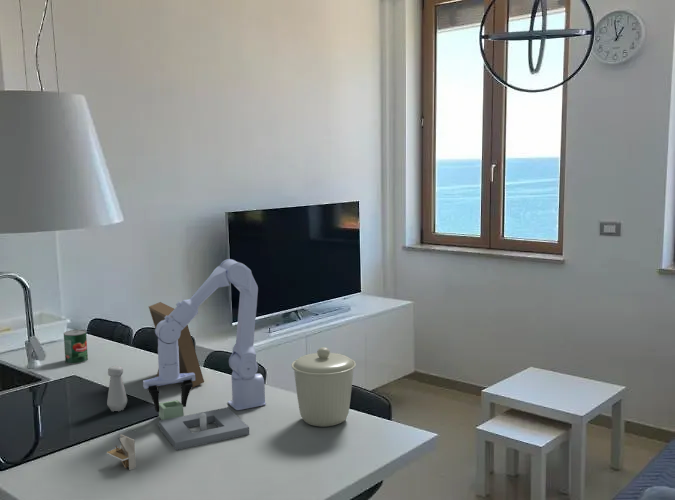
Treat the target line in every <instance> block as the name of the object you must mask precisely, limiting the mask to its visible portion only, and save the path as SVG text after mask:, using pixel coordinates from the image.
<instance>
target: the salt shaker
mask: <svg viewBox="0 0 675 500" xmlns="http://www.w3.org/2000/svg"><path fill="white" fill-rule="evenodd" d="M123 373H124V368H123V366H120V365H113V366H110V367H109V368H108V370H107V375H108V376H109V377H110V378H109V384H108V385H109V386H108V392H107V401H106V404H107V407H108V408H109V409H110V411H111V412H114V411H118V412H121V410H122V411H124V410H125V409H124V408H126V406H127V403H128V397H127V393H126V388H125V384H124V381H123V376H122V375H123Z"/></svg>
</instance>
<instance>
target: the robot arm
mask: <svg viewBox="0 0 675 500" xmlns="http://www.w3.org/2000/svg"><path fill="white" fill-rule="evenodd" d="M231 284H232V285H233V286H234V287H235V288H236V289H237V290H238V291H239V302H238V312H237V313H238V314H237V325H236V326H237V327H236V336H235V337H236V339H235V344H234V345H233V346H232V351H231V352H232V353H231V355H230V356H229V357H228V365H229V368H230V369H231V370H232V373H231V397H232V400H228V401H227V404H229V406H231V408H233V409H234V410H235V411H243V410H247V409H248V410H249V409H251V408H252V409H253V408H257V407H261V406H262V407H263V406H266V405H267V403H266V391H265V390H266V388H265V387H266V386H265V380H264V377H263V375H262V374H261V373H258V371H259V370H258V369H259V364H258V362H257V353H256V349H255V347H254V342H255V329H256V328H255V327H256V318H257V317H256V316H257V307H258V293H259V287H258V284H257V282H256V280H255V278H254V275H253V273H252V270H251V269H250V268H249V267H248V266H247V265H245V264H244V263H242V262H240V261H236V260H235V259H232V258H228V259H227V258H226V259H225V260H223V261H222V262H221V263H220V264H219V265H218V266H216V268H214V269H213V271H212V273H210V275H209V276H208V277H207V278H206V280H204V282H203V283H202V285H200V286H199V288H198V289H197V290H196V291H195V292H194V294H193V295H192V296H191V297H190V298H189V299H182V301H177V303H176V304H175V306H176V307H174V310H173V311H172V312H171V313H170V314H169V315H168V316H167V315H166V316H165V317H164V318H165V319H166V320H162V321H160V322H159V323H158V324H157V326H156V329H155V328H154V333H155V335H156V338H157V365H158V368H159V377H157V376H155V377H152V378H149V379H144V380H142V386H143V387H142V388H143V389H144V390H147V391H148V393H149V396H150V397H151V399H152V403H153V406H154V410H155V412H156V413H159V403H160V390H159V387H161V386H165V385H166V386H167V385H172V384H177V383H179V385H180V394H181V395H180V396H181V397H180V403H181V404H182V405H183V408H186V407H187V402H188V398H189V395H190V393H191V390H192V389H193V388H192V386H193V383H192V381H195V374H194V373H181V374H180V373H179V348H178V339H179V338H180V335H181V330H183V329H184V328H185V327H186V326H187V325H189V324H190V322H192V321H193V319H194V318H195V317H196V316H197V315H198V314H199V306H201V305H203V303H204V302H205V301H206V300H208V298H209V297H210V296H212V294H213V293H214V292H216V290H217V289H219V288H224V287H230V286H231ZM183 327H184V328H183ZM157 386H159V387H157Z"/></svg>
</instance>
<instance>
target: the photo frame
mask: <svg viewBox="0 0 675 500" xmlns="http://www.w3.org/2000/svg"><path fill="white" fill-rule="evenodd" d="M148 309H149V312H150V315H151V316H150V317H151V318H152V322H153V325H154V330H155V329H156V326H157V324H158V323H159V322H160V321H162V320H166V319H165V318H164V317H165V316H166V315H167V316H168V315H169V314H170V313H171V312H172V311H173V310H174V309H175V307H171V306H170V305H167V304H165V303H163V302H161V301H160V302H157V303H154V304H152V305H149V306H148ZM188 325H189V324H188ZM188 325H187V326H186V327H185V328H184V327H183V328H184V329H183V330H181V335H180V338H179V339H178V348H179V373H180V374H181V373H194V374H195V381H192V383H193V386H192V388H191V389H193V388H195V387H197V386H199V385H202V384H204V383H205V379H204V376H203V372H202V368H201V366H200V363H199V362H200V361H199V358H198V355H197V352H196V349H195V345H194V342H193V339H192V335H191V332H190V329H189V326H188ZM156 373H157V374H156V377H159V367H158V369H157V372H156ZM157 387H158V388H159V387H160V386H157Z"/></svg>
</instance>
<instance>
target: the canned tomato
mask: <svg viewBox="0 0 675 500" xmlns="http://www.w3.org/2000/svg"><path fill="white" fill-rule="evenodd" d="M87 341H88V339H87V331H86V330H85V329H71V330H67V331H64V332H63V342H64V343H63V344H64V345H63V346H64V359H65V364H67V365H78V364H83V363H86V362H88V360H89V358H88V342H87Z"/></svg>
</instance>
